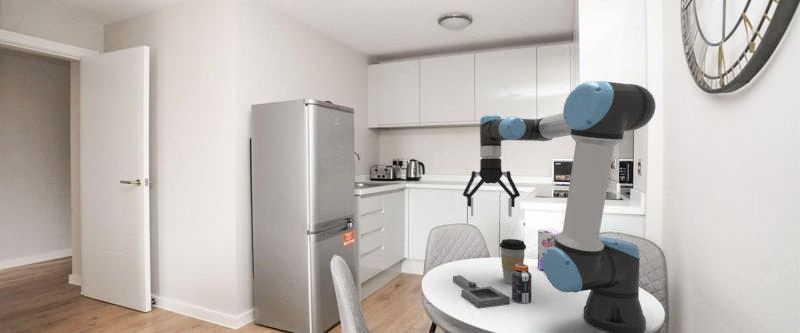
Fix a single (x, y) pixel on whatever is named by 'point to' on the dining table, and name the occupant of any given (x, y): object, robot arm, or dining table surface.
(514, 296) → the pill bottle
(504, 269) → the coffee cup
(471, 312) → the dining table surface
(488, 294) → the square metal pan
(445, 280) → the dining table surface
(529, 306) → the dining table surface
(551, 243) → the candy box
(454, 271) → the dining table surface
